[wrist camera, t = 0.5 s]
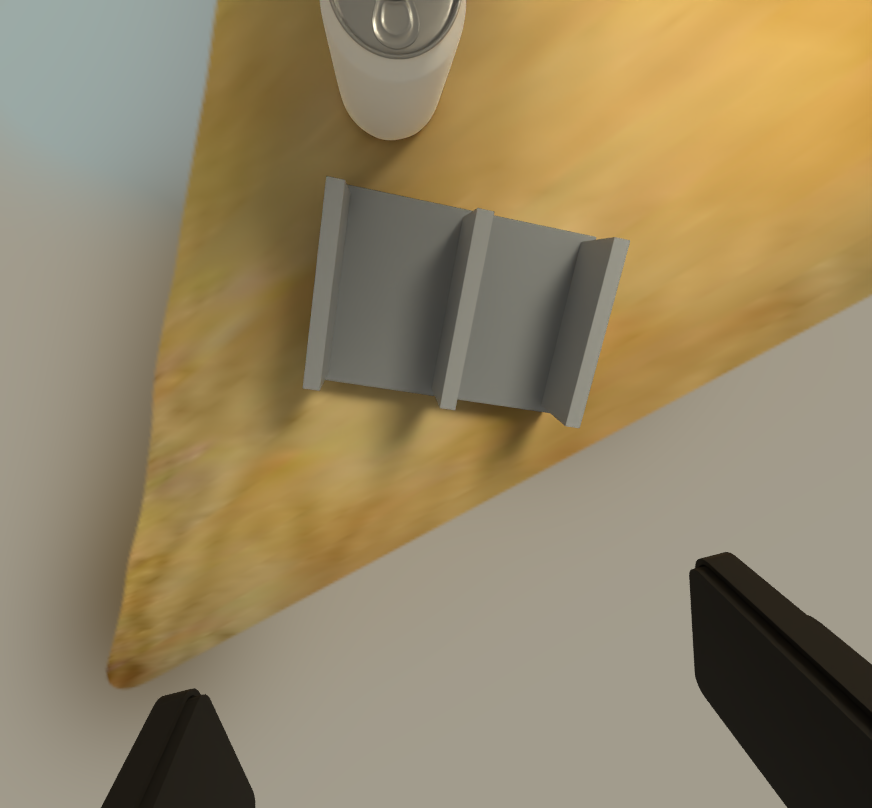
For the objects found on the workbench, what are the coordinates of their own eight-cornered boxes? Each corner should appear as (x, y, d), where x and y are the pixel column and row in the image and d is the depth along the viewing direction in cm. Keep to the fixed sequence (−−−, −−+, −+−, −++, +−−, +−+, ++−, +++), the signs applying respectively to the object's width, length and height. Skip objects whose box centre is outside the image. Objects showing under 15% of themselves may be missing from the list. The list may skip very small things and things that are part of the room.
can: (343, 142, 31) (320, 69, 20) (334, 26, 29) (304, -129, 18) (440, 142, 32) (474, 71, 20) (438, 28, 30) (473, -121, 19)
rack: (338, 185, 32) (327, 166, 26) (587, 238, 35) (632, 231, 28) (316, 373, 35) (301, 396, 29) (545, 407, 38) (577, 435, 32)
